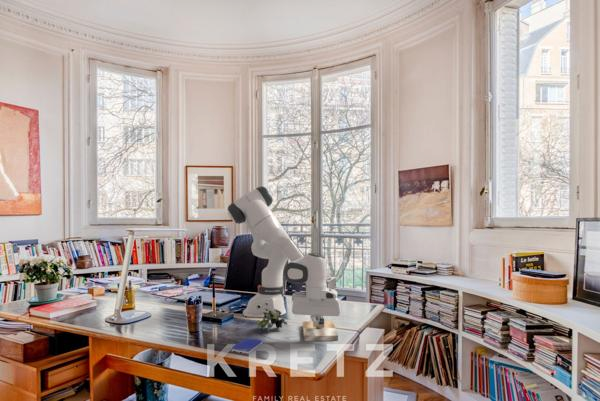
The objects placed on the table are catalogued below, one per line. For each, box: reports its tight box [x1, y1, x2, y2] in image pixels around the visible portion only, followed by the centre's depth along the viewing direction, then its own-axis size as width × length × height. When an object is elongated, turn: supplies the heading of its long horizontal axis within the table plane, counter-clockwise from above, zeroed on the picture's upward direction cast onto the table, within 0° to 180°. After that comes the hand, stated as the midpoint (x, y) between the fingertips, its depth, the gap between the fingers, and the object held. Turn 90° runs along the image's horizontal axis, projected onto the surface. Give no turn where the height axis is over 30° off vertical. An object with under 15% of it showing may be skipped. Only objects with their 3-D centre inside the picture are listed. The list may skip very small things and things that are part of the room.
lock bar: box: [315, 315, 325, 328], centre depth 161 cm, size 13×3×3 cm, turn 3°
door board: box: [302, 319, 339, 342], centre depth 166 cm, size 14×21×6 cm, turn 2°
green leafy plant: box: [255, 309, 288, 334], centre depth 169 cm, size 11×11×12 cm
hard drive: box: [229, 337, 264, 354], centre depth 149 cm, size 2×8×12 cm
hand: (316, 325), depth 158 cm, fingers closed
